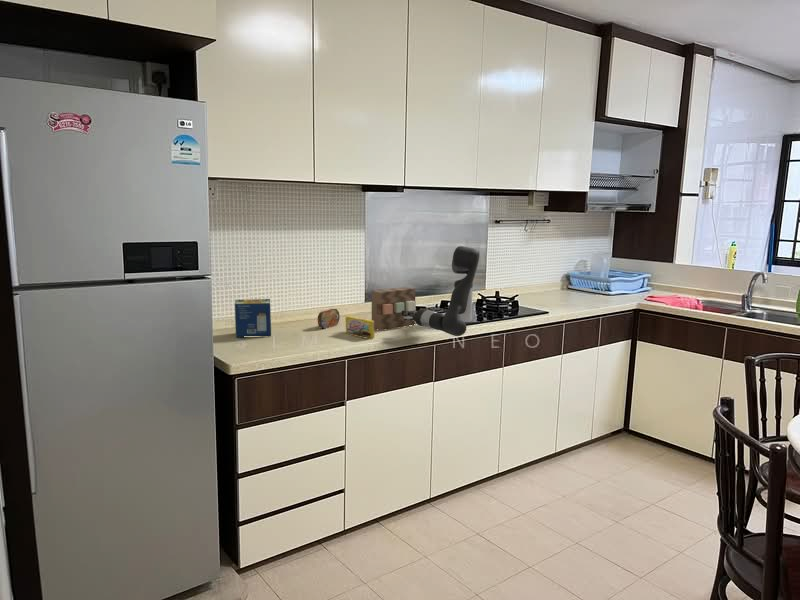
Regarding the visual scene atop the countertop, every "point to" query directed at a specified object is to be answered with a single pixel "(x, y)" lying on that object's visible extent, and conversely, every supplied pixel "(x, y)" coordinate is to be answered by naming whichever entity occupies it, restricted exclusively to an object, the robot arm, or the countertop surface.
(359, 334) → the candy box
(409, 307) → the cream button
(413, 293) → the button panel
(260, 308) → the protein box
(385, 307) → the terracotta button
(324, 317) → the tin
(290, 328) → the countertop surface
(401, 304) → the sage button
